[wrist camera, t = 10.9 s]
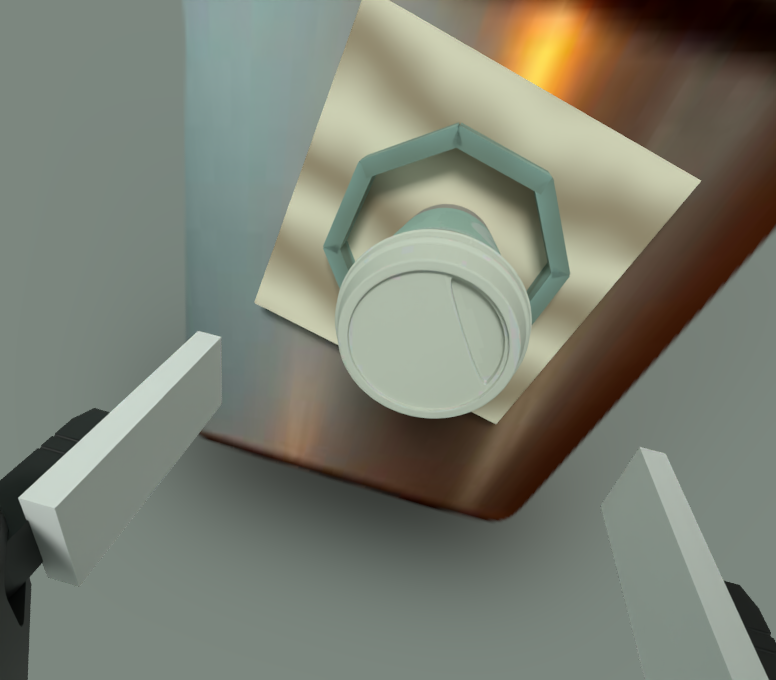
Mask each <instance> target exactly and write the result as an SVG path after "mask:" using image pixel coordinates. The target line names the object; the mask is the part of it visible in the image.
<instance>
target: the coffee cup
mask: <svg viewBox="0 0 776 680" xmlns="http://www.w3.org/2000/svg"><path fill="white" fill-rule="evenodd" d="M531 326H532V314H531V306H530V301H529V298H528V294H527V292H526V289H525V287H524V285H523V283H522V281H521V279H520V277H519V276H518V274H517V273H516V271H515V270H514V269H513V267H512V266H511V265H510V264H509V263H508V262H507V261H506V260H505V259H504V258H503V257H502V256H501V254H500V252H499V250H498V248H497V245H496V243H495V241H494V239H493V237H492V235H491V233H490V231H489V230H488V228H487V226H486V224H485V223H484V222H483V220H482V219H481V218H480V217H479V216H478V215H476V214H475V213H474V212H472V211H471V210H469V209H467V208H465V207H462V206H458V205H454V204H439V205H434V206H431V207H428V208H426V209H424V210H422V211H420V212H419V213H418V214H416V215H415V216H414V217H413V218H412V219H411V220H409V221H408V222H407V223H406V224H405V225H404V226H403V227H402V228H401V229H399V230H398V231H397V232H396V233H395V234H394V235H393V236H391V237H389V238H386V239H384V240H382V241H380V242H379V243H377V244H375V245H374V246H372V247H371V248H370V249H368V250H367V251H366V252H365V253H363V254H362V255H361V256H360V257H359V258H358V259H357V260H356V262H355V263H354V264H353V265H352V267H351V268H350V269H349V271H348V273H347V274H346V276H345V278H344V280H343V282H342V285H341V287H340V291H339V294H338V299H337V304H336V310H335V329H336V335H337V339H338V345H339V351H340V354H341V358H342V360H343V362H344V365H345V367H346V369H347V371H348V372H349V374H350V376H351V377H352V378H353V380H354V381H355V382H356V383H357V385H358V386H359V387H360V388H361V389H362V390H363V391H364V392H365V393H366V394H368V395H369V396H370V397H371V398H373V399H374V400H375V401H377V402H378V403H380V404H382V405H384V406H385V407H387V408H390V409H392V410H394V411H397V412H399V413H402V414H406V415H409V416H414V417H420V418H449V417H454V416H459V415H463V414H466V413H469V412H471V411H474V410H476V409H478V408H480V407H482V406H484V405H485V404H487V403H488V402H490V401H491V400H493V399H494V398H495V397H496V396H497V395H498V394H499V393H500V392H501V391H502V390H503V389H504V388H505V387H506V385H507V384H508V383H509V381H510V380H511V378H512V376H513V375H514V374H515V372H516V371H517V369H518V368H519V366H520V364H521V363H522V361H523V359H524V356H525V354H526V351H527V348H528V343H529V338H530V334H531Z"/></svg>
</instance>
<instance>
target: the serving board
mask: <svg viewBox="0 0 776 680" xmlns="http://www.w3.org/2000/svg"><path fill="white" fill-rule="evenodd" d="M700 182H701V180H699V179H697V178H695V177H694V176H692V175H690V174H688V173H687V172H685V171H683V170H682V169H680V168H678V167H676V166H675V165H673V164H671V163H669V162H668V161H666V160H664V159H663V158H661V157H659V156H657V155H656V154H654V153H652V152H650V151H649V150H647V149H645V148H644V147H642V146H640V145H638V144H637V143H635V142H633V141H631V140H630V139H628V138H626V137H625V136H623V135H621V134H619V133H618V132H616V131H614V130H612V129H611V128H609V127H607V126H606V125H604V124H602V123H600V122H599V121H597V120H595V119H593V118H592V117H590V116H588V115H586V114H585V113H583V112H581V111H580V110H578V109H576V108H574V107H573V106H571V105H569V104H567V103H566V102H564V101H562V100H561V99H559V98H557V97H555V96H554V95H552V94H550V93H548V92H547V91H545V90H543V89H542V88H540V87H538V86H536V85H535V84H533V83H531V82H529V81H528V80H526V79H524V78H523V77H521V76H519V75H517V74H516V73H514V72H512V71H510V70H509V69H507V68H505V67H504V66H502V65H500V64H498V63H497V62H495V61H493V60H491V59H490V58H488V57H486V56H484V55H483V54H481V53H479V52H478V51H476V50H474V49H472V48H471V47H469V46H467V45H465V44H464V43H462V42H460V41H459V40H457V39H455V38H453V37H452V36H450V35H448V34H446V33H445V32H443V31H441V30H440V29H438V28H436V27H434V26H433V25H431V24H429V23H427V22H426V21H424V20H422V19H421V18H419V17H417V16H415V15H414V14H412V13H410V12H408V11H407V10H405V9H403V8H402V7H400V6H398V5H396V4H395V3H393V2H391V1H389V0H362V1H361V4H360V7H359V10H358V13H357V15H356V18H355V21H354V24H353V27H352V29H351V32H350V35H349V38H348V41H347V43H346V46H345V49H344V52H343V55H342V58H341V60H340V63H339V66H338V69H337V72H336V74H335V77H334V80H333V83H332V86H331V88H330V91H329V94H328V97H327V100H326V103H325V105H324V108H323V111H322V114H321V117H320V119H319V122H318V125H317V128H316V131H315V133H314V136H313V139H312V142H311V145H310V148H309V150H308V153H307V156H306V159H305V162H304V164H303V167H302V170H301V173H300V176H299V178H298V181H297V184H296V187H295V190H294V193H293V195H292V198H291V201H290V204H289V207H288V209H287V212H286V215H285V218H284V221H283V223H282V226H281V229H280V232H279V235H278V238H277V240H276V243H275V246H274V249H273V252H272V254H271V257H270V260H269V263H268V266H267V268H266V271H265V274H264V277H263V280H262V283H261V285H260V288H259V291H258V294H257V297H256V299H255V302H254V303H256V304H258V305H260V306H262V307H264V308H266V309H268V310H270V311H272V312H274V313H276V314H278V315H280V316H282V317H284V318H286V319H288V320H290V321H292V322H294V323H295V324H297V325H299V326H301V327H303V328H305V329H307V330H309V331H311V332H313V333H315V334H317V335H319V336H321V337H323V338H325V339H327V340H329V341H331V342H333V343H335V344H337V345H338V339H337V335H336V329H335V310H336V304H337V299H338V294H339V291H340V287H341V285H342V282H343V280H344V278H345V276H346V274H347V273H348V271H349V269H350V268H351V267H352V265H353V264H354V263H355V262H356V260H357V259H358V258H359V257H360V256H361V255H362V254H363V253H365V252H366V251H367V250H368V249H370V248H371V247H372V246H374V245H375V244H377V243H379V242H380V241H382V240H384V239H386V238H389V237H391V236H393V235H394V234H395V233H396V232H397V231H398V230H399V229H401V228H402V227H403V226H404V225H405V224H406V223H407V222H408V221H409V220H411V219H412V218H413V217H414V216H415V215H416V214H418V213H419V212H420V211H422V210H424V209H426V208H428V207H431V206H434V205H439V204H454V205H458V206H462V207H465V208H467V209H469V210H471V211H472V212H474V213H475V214H476V215H478V216H479V217H480V218H481V219H482V220H483V222H484V223H485V224H486V226H487V228H488V230H489V231H490V233H491V235H492V237H493V239H494V241H495V243H496V245H497V248H498V250H499V252H500V254H501V256H502V257H503V258H504V259H505V260H506V261H507V262H508V263H509V264H510V265H511V266H512V267H513V269H514V270H515V271H516V273H517V274H518V276H519V277H520V279H521V281H522V283H523V285H524V287H525V289H526V292H527V294H528V298H529V301H530V306H531V314H532V326H531V334H530V338H529V343H528V348H527V351H526V354H525V356H524V359H523V361H522V363H521V364H520V366H519V368H518V369H517V371H516V372H515V374H514V375H513V376H512V378H511V380H510V381H509V383H508V384H507V385H506V387H505V388H504V389H503V390H502V391H501V392H500V393H499V394H498V395H497V396H496V397H495V398H494V399H493V400H491V401H490V402H488V403H487V404H485V405H484V406H482V407H480V408H478V409H476V410H474V411H471V412H473V413H475V414H477V415H479V416H481V417H483V418H484V419H486V420H488V421H490V422H492V423H494V424H497V423H498V421H499V420H500V419H501V418H502V417H503V415H504V414H505V413H506V412H507V411H508V410H509V408H510V407H511V406H512V405H513V404H514V402H515V401H516V400H517V399H518V398H519V396H520V395H521V394H522V393H523V392H524V391H525V389H526V388H527V387H528V386H529V385H530V383H531V382H532V381H533V380H534V379H535V377H536V376H537V375H538V374H539V373H540V372H541V370H542V369H543V368H544V367H545V366H546V364H547V363H548V362H549V361H550V360H551V359H552V357H553V356H554V355H555V354H556V353H557V351H558V350H559V349H560V348H561V347H562V345H563V344H564V343H565V342H566V341H567V340H568V338H569V337H570V336H571V335H572V334H573V332H574V331H575V330H576V329H577V328H578V326H579V325H580V324H581V323H582V322H583V321H584V319H585V318H586V317H587V316H588V315H589V313H590V312H591V311H592V310H593V309H594V307H595V306H596V305H597V304H598V303H599V302H600V300H601V299H602V298H603V297H604V296H605V294H606V293H607V292H608V291H609V290H610V288H611V287H612V286H613V285H614V284H615V283H616V281H617V280H618V279H619V278H620V277H621V275H622V274H623V273H624V272H625V271H626V270H627V268H628V267H629V266H630V265H631V264H632V262H633V261H634V260H635V259H636V258H637V256H638V255H639V254H640V253H641V252H642V251H643V249H644V248H645V247H646V246H647V245H648V243H649V242H650V241H651V240H652V239H653V237H654V236H655V235H656V234H657V233H658V232H659V230H660V229H661V228H662V227H663V226H664V224H665V223H666V222H667V221H668V220H669V218H670V217H671V216H672V215H673V214H674V213H675V211H676V210H677V209H678V208H679V207H680V205H681V204H682V203H683V202H684V201H685V199H686V198H687V197H688V196H689V195H690V194H691V192H692V191H693V190H694V189H695V188H696V186H697V185H698V184H699V183H700Z"/></svg>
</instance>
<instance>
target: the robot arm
mask: <svg viewBox="0 0 776 680" xmlns="http://www.w3.org/2000/svg"><path fill="white" fill-rule="evenodd" d="M221 404H222V366H221V337H219V336H215V335H211V334H207V333H203V332H200V331H198V332H197V333H196V334H194V335H193V336H192V337H191V338H190V339H189V340H188V341H187V342H186V343H185V344H184V345H183V346H181V347H180V348H179V349H178V350H177V351H176V352H175V353H174V354H173V355H172V356H171V357H170V358H169V359H167V360H166V361H165V362H164V363H163V364H162V365H161V366H160V367H159V368H158V369H157V370H156V371H154V372H153V373H152V374H151V375H150V376H149V377H148V378H147V379H146V380H145V381H144V382H143V383H142V384H141V385H139V386H138V387H137V388H136V389H135V390H134V391H133V392H132V393H131V394H130V395H129V396H128V397H127V398H125V399H124V400H123V401H122V402H121V403H120V404H119V405H118V406H117V407H116V408H115V409H114V410H112V411H111V412H106V411H103V410H99V409H96V408H94V409H92V410H89V411H87V412H85V413H83V414H82V415H80V416H77V417H75V418H73V419H71V420H70V421H69V422H68V423H67V424H66V425H64V426H63V427H62V428H61V429H60V430H59V431H57V432H56V433H55V436H54V437H53V436H52V437H50V438H49V439H48V440H47V441H46V442H45V443H43V444H42V445H41V448H40V449H37V450H35V451H34V452H33V453H32V454H31V455H29V456H28V457H27V458H26V459H25V460H24V461H22V462H21V463H20V464H19V465H18V466H17V467H15V468H14V469H13V470H12V471H11V472H10V473H8V474H7V475H6V476H5V477H4V478H3V479H1V480H0V680H27V679H28V654H29V627H30V604H31V582H30V578H29V577H30V576H31V575H32V574H33V572H34V571H35V570H36V569H37V568H38V567H39V566H40V565H41V563H43V566H44V569H45V571H46V574H47V577H48V578H52V579H55V580H58V581H62V582H65V583H69V584H72V585H75V586H78V587H79V586H80V585H81V584H82V583H83V581H84V580H85V579H86V577H87V576H88V575H89V574H90V572H91V571H92V570H93V568H94V567H95V566H96V565H97V563H98V562H99V561H100V559H101V558H102V557H103V555H104V554H105V553H106V552H107V550H108V549H109V548H110V547H111V545H112V544H113V543H114V541H115V540H116V539H117V538H118V536H119V535H120V534H121V532H122V531H123V530H124V529H125V527H126V526H127V525H128V524H129V522H130V521H131V520H132V518H133V517H134V516H135V515H136V513H137V512H138V511H139V509H140V508H141V507H142V506H143V504H144V503H145V502H146V500H147V499H148V498H149V496H150V495H151V494H152V493H153V491H154V490H155V489H156V488H157V486H158V485H159V484H160V482H161V481H162V480H163V479H164V477H165V476H166V475H167V473H168V472H169V471H170V470H171V468H172V467H173V466H174V465H175V463H176V462H177V461H178V459H179V458H180V457H181V455H182V454H183V453H184V452H185V450H186V449H187V448H188V446H189V445H190V444H191V443H192V441H193V440H194V439H195V438H196V436H197V435H198V434H199V432H200V431H201V430H202V429H203V427H204V426H205V425H206V423H207V422H208V421H209V420H210V418H211V417H212V416H213V414H214V413H215V412H216V411H217V409H218V408H219V407H220V405H221ZM600 507H601V510H602V514H603V518H604V522H605V526H606V530H607V534H608V538H609V542H610V546H611V550H612V554H613V557H614V561H615V565H616V569H617V573H618V577H619V581H620V585H621V589H622V593H623V597H624V600H625V604H626V608H627V612H628V616H629V620H630V624H631V627H632V632H633V636H634V640H635V644H636V647H637V651H638V655H639V659H640V663H641V667H642V671H643V675H644V679H645V680H776V642H775V640H774V638H772V637H771V636H770V634H771V632H770V630H769V628H768V626H767V624H766V622H765V620H764V618H763V616H762V614H761V612H760V610H759V608H758V607H757V606H756V605H755V603H754V602H753V601H752V600H751V599H750V597H749V596H748V595H747V594H746V592H745V591H744V590H743V589H742V587H741V586H740V585H737V584H734V583H730V582H726V581H723V578H722V576H721V574H720V572H719V570H718V567H717V565H716V563H715V561H714V559H713V557H712V554H711V552H710V550H709V548H708V546H707V543H706V541H705V539H704V537H703V535H702V532H701V530H700V528H699V526H698V524H697V521H696V519H695V517H694V515H693V513H692V511H691V508H690V506H689V504H688V502H687V500H686V498H685V495H684V493H683V491H682V489H681V486H680V484H679V482H678V480H677V478H676V475H675V473H674V472H673V469H672V467H671V464H670V462H669V460H668V458H667V456H666V454H665V453H661V452H658V451H654V450H650V449H646V448H642V447H639V449H638V450H637V452H636V453H635V455H634V456H633V458H632V459H631V461H630V462H629V464H628V465H627V467H626V468H625V470H624V471H623V473H622V475H621V476H620V477H619V479H618V481H617V482H616V483H615V485H614V486H613V488H612V489H611V491H610V492H609V494H608V496H607V497H606V498H605V500H604V502H603V503H602V504H601V506H600Z"/></svg>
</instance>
